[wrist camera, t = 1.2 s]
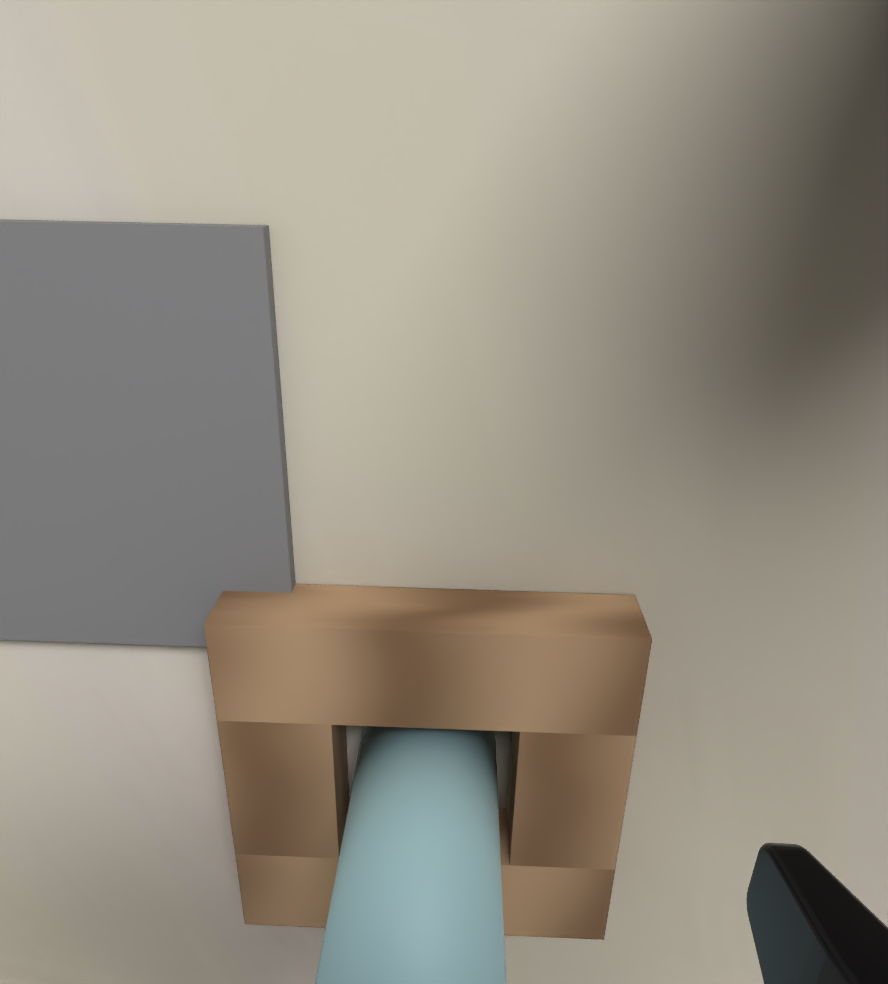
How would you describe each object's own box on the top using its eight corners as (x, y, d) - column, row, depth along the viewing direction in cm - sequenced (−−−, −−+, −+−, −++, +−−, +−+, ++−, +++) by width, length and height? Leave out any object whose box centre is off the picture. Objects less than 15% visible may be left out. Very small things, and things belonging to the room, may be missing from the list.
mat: (268, 225, 18) (262, 226, 17) (299, 639, 23) (296, 649, 22) (-221, 214, 18) (-239, 216, 17) (-85, 627, 23) (-97, 636, 22)
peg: (498, 693, 23) (514, 984, 15) (492, 797, 25) (503, 1108, 17) (359, 688, 23) (299, 975, 15) (363, 792, 25) (311, 1098, 17)
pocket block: (634, 595, 21) (651, 639, 19) (593, 880, 26) (603, 939, 24) (228, 581, 22) (203, 623, 20) (261, 867, 27) (245, 923, 25)
